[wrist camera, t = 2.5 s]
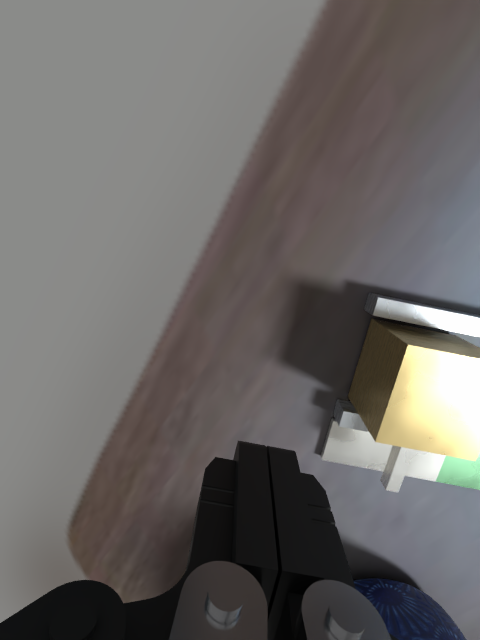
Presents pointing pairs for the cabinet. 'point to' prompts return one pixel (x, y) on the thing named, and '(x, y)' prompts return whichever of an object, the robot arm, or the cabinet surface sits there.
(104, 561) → the cabinet surface
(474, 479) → the grey open frame tray
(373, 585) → the planter
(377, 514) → the cabinet surface
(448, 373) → the tan gold cube
